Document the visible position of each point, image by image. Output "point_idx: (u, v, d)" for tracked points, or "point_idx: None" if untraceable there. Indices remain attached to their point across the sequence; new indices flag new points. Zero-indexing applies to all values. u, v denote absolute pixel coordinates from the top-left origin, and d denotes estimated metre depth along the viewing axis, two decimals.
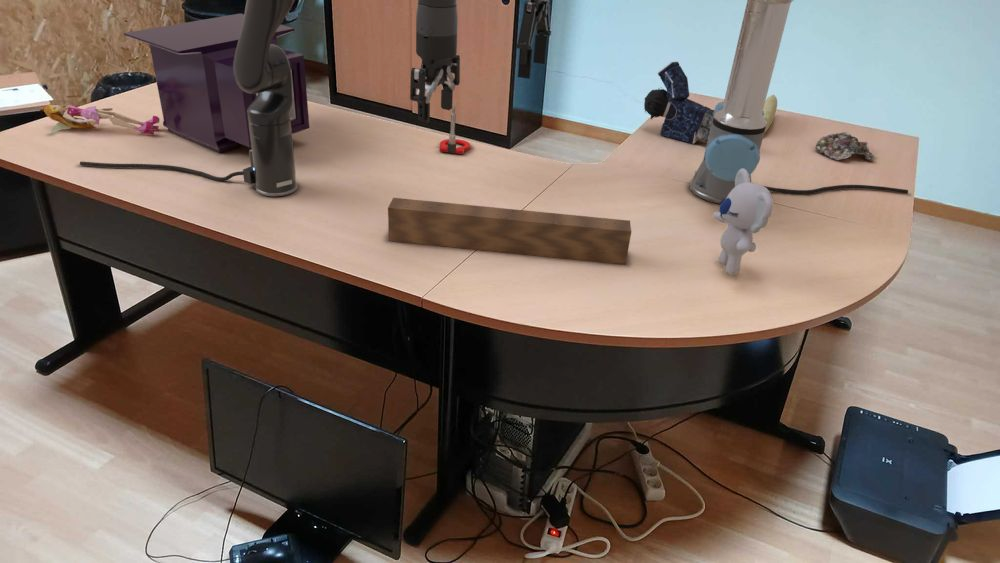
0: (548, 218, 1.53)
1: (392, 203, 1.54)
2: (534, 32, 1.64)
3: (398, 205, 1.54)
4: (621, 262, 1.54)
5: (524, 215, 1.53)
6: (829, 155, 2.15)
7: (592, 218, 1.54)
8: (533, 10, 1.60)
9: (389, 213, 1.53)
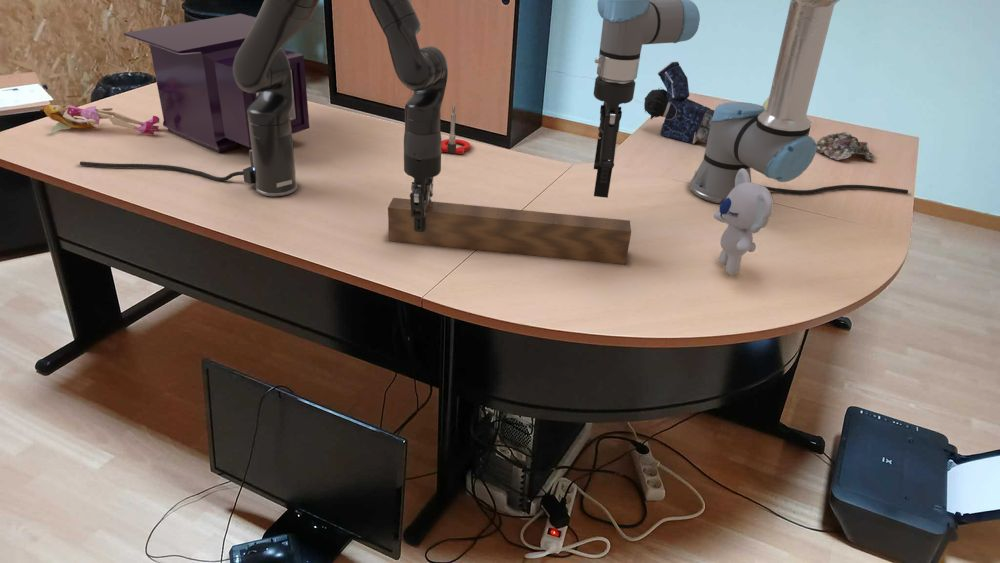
0: (548, 218, 1.53)
1: (392, 203, 1.54)
2: None
3: (398, 205, 1.54)
4: (621, 262, 1.54)
5: (524, 215, 1.53)
6: (829, 155, 2.15)
7: (592, 218, 1.54)
8: (616, 123, 1.35)
9: (389, 213, 1.53)
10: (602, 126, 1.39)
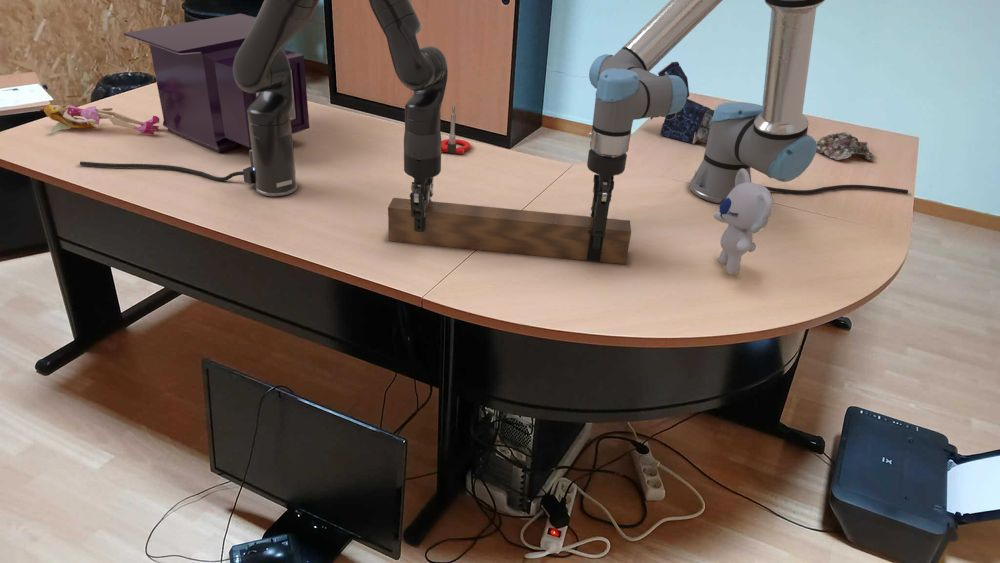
0: (548, 218, 1.53)
1: (392, 203, 1.54)
2: None
3: (398, 205, 1.54)
4: (621, 262, 1.54)
5: (524, 215, 1.53)
6: (829, 155, 2.15)
7: (592, 218, 1.54)
8: (608, 201, 1.43)
9: (389, 213, 1.53)
10: (595, 197, 1.47)
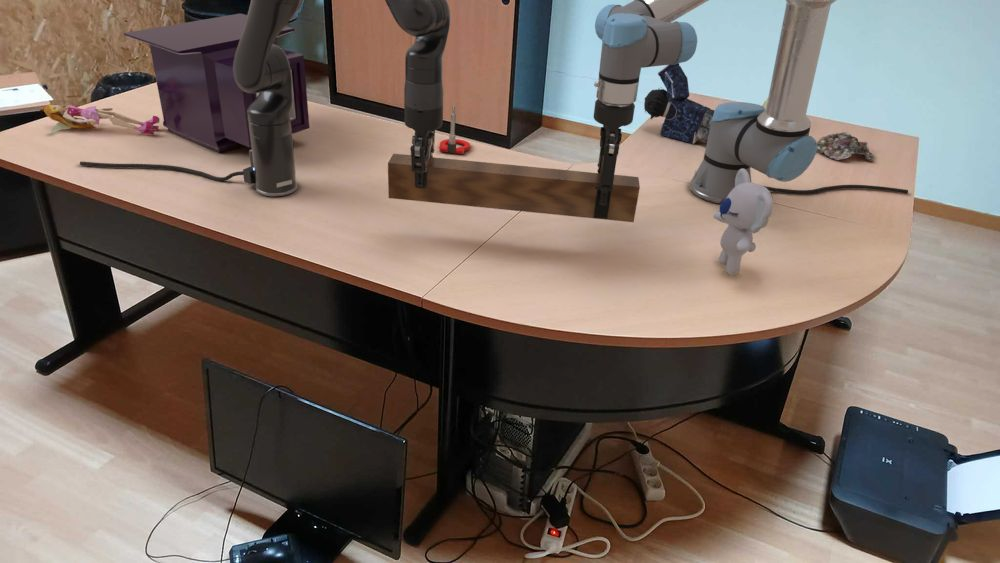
0: (554, 174, 1.48)
1: (392, 158, 1.49)
2: None
3: (398, 160, 1.48)
4: (629, 220, 1.49)
5: (529, 171, 1.48)
6: (829, 155, 2.15)
7: (599, 174, 1.49)
8: (615, 153, 1.38)
9: (389, 168, 1.48)
10: (602, 150, 1.41)
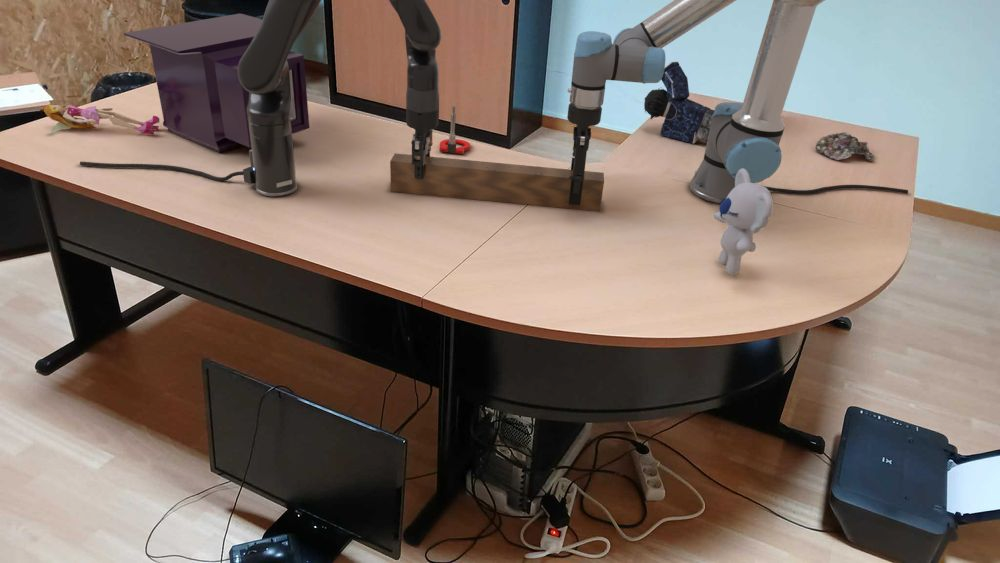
0: (531, 170, 1.73)
1: (394, 157, 1.75)
2: None
3: (399, 159, 1.74)
4: (596, 209, 1.75)
5: (510, 168, 1.74)
6: (829, 155, 2.15)
7: (570, 170, 1.75)
8: (586, 144, 1.62)
9: (391, 166, 1.74)
10: (574, 145, 1.66)
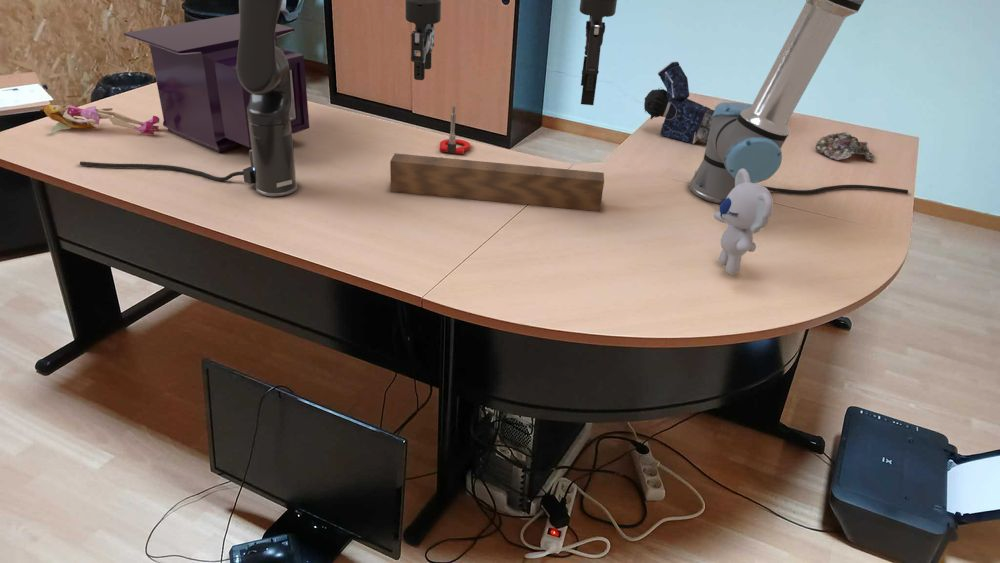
0: (531, 170, 1.73)
1: (394, 157, 1.75)
2: None
3: (399, 159, 1.74)
4: (596, 209, 1.75)
5: (510, 168, 1.74)
6: (829, 155, 2.15)
7: (570, 170, 1.75)
8: (600, 33, 1.49)
9: (391, 166, 1.74)
10: (587, 38, 1.53)
